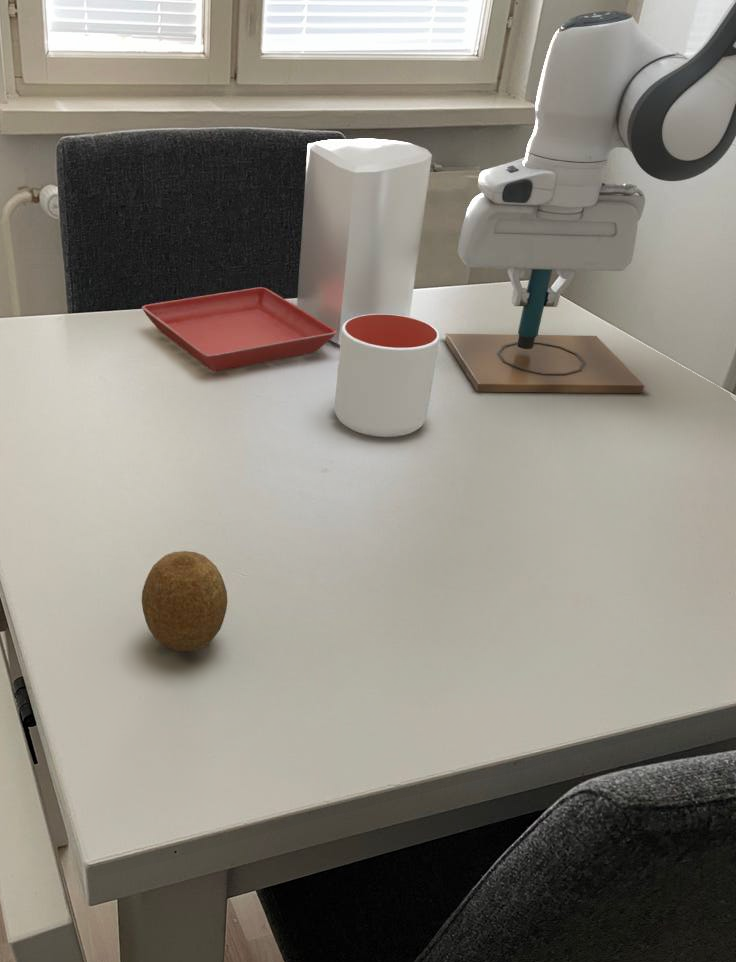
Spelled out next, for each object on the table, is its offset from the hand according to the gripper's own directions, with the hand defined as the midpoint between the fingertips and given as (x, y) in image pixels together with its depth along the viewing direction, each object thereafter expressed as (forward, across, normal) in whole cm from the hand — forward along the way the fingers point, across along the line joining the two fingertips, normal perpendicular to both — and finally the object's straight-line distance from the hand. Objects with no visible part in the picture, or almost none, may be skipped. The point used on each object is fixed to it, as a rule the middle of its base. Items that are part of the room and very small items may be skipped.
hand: (533, 305), depth 119 cm
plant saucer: (+7, +35, -4) cm, 36 cm away
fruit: (+7, +43, +57) cm, 72 cm away
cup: (+7, +21, +18) cm, 29 cm away
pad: (+7, -2, +2) cm, 7 cm away
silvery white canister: (+7, +18, -12) cm, 23 cm away
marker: (+5, 0, 0) cm, 5 cm away
